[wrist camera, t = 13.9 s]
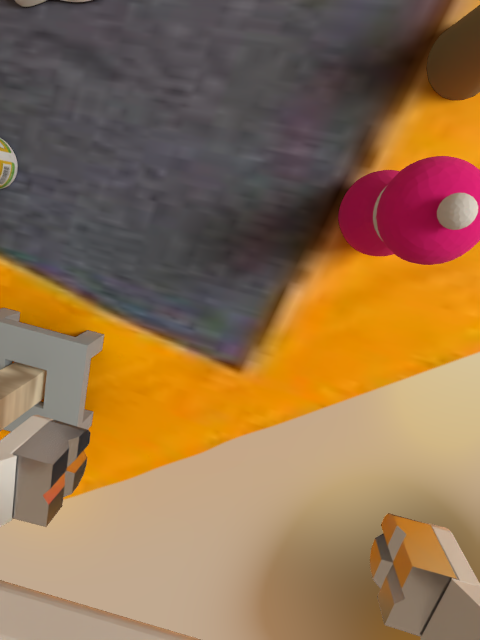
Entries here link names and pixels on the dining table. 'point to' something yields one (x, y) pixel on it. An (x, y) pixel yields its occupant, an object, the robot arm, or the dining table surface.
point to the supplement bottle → (7, 165)
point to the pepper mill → (415, 211)
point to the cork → (457, 59)
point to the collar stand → (51, 367)
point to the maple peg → (19, 390)
